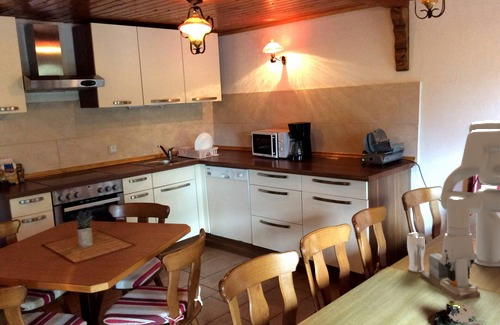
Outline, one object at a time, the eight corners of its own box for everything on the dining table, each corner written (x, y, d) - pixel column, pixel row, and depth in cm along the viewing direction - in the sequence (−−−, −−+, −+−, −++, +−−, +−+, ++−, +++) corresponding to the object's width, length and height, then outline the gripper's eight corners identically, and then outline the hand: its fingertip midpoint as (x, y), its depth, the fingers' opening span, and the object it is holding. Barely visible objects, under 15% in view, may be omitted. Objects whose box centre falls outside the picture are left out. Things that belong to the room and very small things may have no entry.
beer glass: (426, 272, 180) (426, 237, 178) (408, 272, 181) (408, 237, 179) (423, 266, 187) (423, 232, 185) (406, 266, 188) (405, 232, 186)
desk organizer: (439, 273, 179) (439, 250, 178) (480, 296, 157) (480, 270, 155) (419, 276, 177) (419, 253, 176) (457, 300, 155) (457, 274, 154)
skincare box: (448, 285, 164) (447, 254, 162) (459, 283, 164) (457, 252, 163) (458, 292, 158) (456, 260, 156) (469, 290, 158) (468, 258, 157)
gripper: (472, 225, 163) (472, 271, 166) (430, 230, 160) (431, 278, 163) (486, 230, 156) (486, 279, 159) (443, 236, 153) (444, 286, 155)
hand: (458, 278), depth 160 cm, fingers open, 5 cm apart
